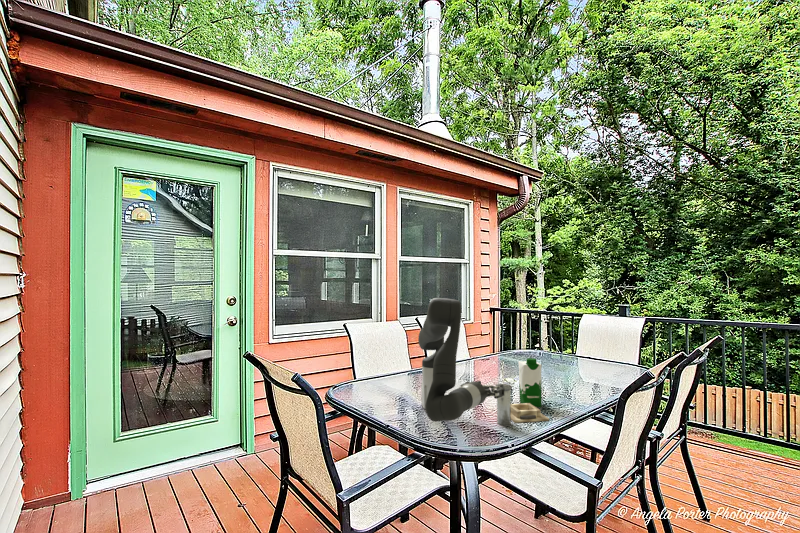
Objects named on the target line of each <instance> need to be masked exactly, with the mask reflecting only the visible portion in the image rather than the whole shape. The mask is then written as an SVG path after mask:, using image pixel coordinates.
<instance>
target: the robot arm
mask: <svg viewBox="0 0 800 533" xmlns="http://www.w3.org/2000/svg"><path fill="white" fill-rule="evenodd" d="M423 322H424V323H423V325H422V327H421V329H420V331H419V334H418V338H417V339H418V345H419V348H420V349H421V350H423V351H435V352H434V353H432V354H431V355H428V356H426V357H424V358H423V359H422V361H421V370H422V372H421V374H422V376H421V377H422V382H421V386H420V391H421V398H420V399H421V407H423V409H424V410H425V413H426V416H427V417H428V418H429V420H430V421H432V422H446V421H454V420H457V419H459V418H461V417H462V415H464V412H466V411H468V410H472V409H475V408H476V407H479V405H481V404H483V403H484V402H485V401H486V399H487V398H488V397H493V398H494V399H496V400H497V398H500V397H502V396H504V395H505V393H504V386H503V385H502V384H503V383H500V384H501V385H498V386H496V385H495V386H494V385H493V384H492V385H485V384H482V382H481V380H478V381H471V382H469V381H465V382H464V383H462V384H460V386H458V388H456V389H453V388H455V386H456V382H457V380H456V378H457V375H456V374H457V355H458V354H457V353H458V347H459V340H460V330H461V324H462V323H461V322H462V305H461V301H460V300H458V299H453V298H446V297H445V298H443V297H434V298H432V299H431V300H430V301H429V304H428V308H427V312H426V318H425V319H424V321H423ZM449 327H450V330H448V329H449ZM448 331H449V334H448V336H447V338H446V340H445V336H446V334H447V332H448ZM451 389H453V390H451ZM449 390H451V391H450V392H449V393H448V394H446V393H447V392H448V391H449Z"/></svg>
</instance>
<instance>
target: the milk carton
mask: <svg viewBox="0 0 800 533" xmlns="http://www.w3.org/2000/svg"><path fill="white" fill-rule="evenodd" d="M518 384H519V385H518V387H519V388H518V389H519V390H518V391H519V392H518V393H519V404H521V403H530V404H532V405H533V406H535V407H536V408H542V406H543V404H542V402H543V400H542V398H543V394H542V388H543V387H542V364H541V363H540V362H538V361H537V358H534V357H533V358H532V357H528V358H526V361H520V360H518Z"/></svg>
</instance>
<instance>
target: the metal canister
mask: <svg viewBox="0 0 800 533" xmlns="http://www.w3.org/2000/svg"><path fill="white" fill-rule="evenodd" d="M501 384H502V385H503V386H504V393H505V395H504V396H502V397H500V398H497V399H496V422H497V425H499V426H504V427H506V426H511V425H512V420H511V404H512V402H511V400H512V399H511V395H512V394H511V393H512V392H511V390H512V385H510V384H508V383H507V384H506V383H497V384H496V385H495V386H498V385H501Z"/></svg>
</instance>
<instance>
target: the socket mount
mask: <svg viewBox="0 0 800 533" xmlns="http://www.w3.org/2000/svg"><path fill="white" fill-rule="evenodd" d="M547 421H548V422H549V421H550V418H549V417H548V416H547V415H545V414H544V413H542V412H541V409H539V407H535V406H533V405H532V404H530V403H511V422H513V423H517V424H518V423H531V422H532V423H533V422H547Z"/></svg>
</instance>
